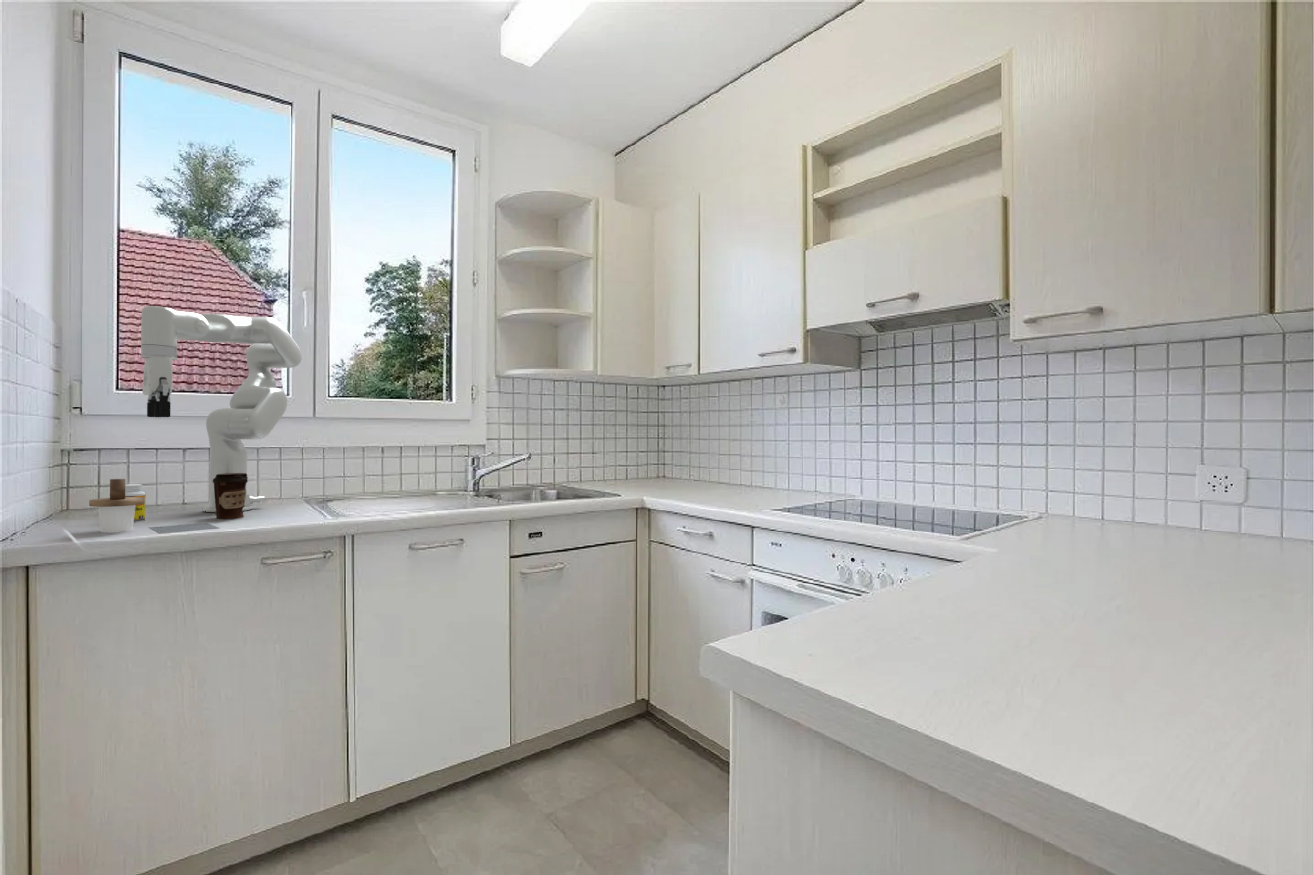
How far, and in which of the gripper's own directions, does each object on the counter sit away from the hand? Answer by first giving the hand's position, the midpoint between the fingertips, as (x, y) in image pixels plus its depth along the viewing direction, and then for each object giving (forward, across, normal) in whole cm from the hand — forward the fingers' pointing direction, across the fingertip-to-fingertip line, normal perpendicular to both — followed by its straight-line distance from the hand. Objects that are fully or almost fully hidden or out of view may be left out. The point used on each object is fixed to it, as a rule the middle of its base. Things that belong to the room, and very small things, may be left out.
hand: (158, 417), depth 165 cm
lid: (+21, +15, -10) cm, 28 cm away
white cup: (+28, +15, -10) cm, 34 cm away
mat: (+28, +20, +2) cm, 35 cm away
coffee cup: (+28, +7, +15) cm, 33 cm away
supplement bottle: (+28, -2, -5) cm, 29 cm away
